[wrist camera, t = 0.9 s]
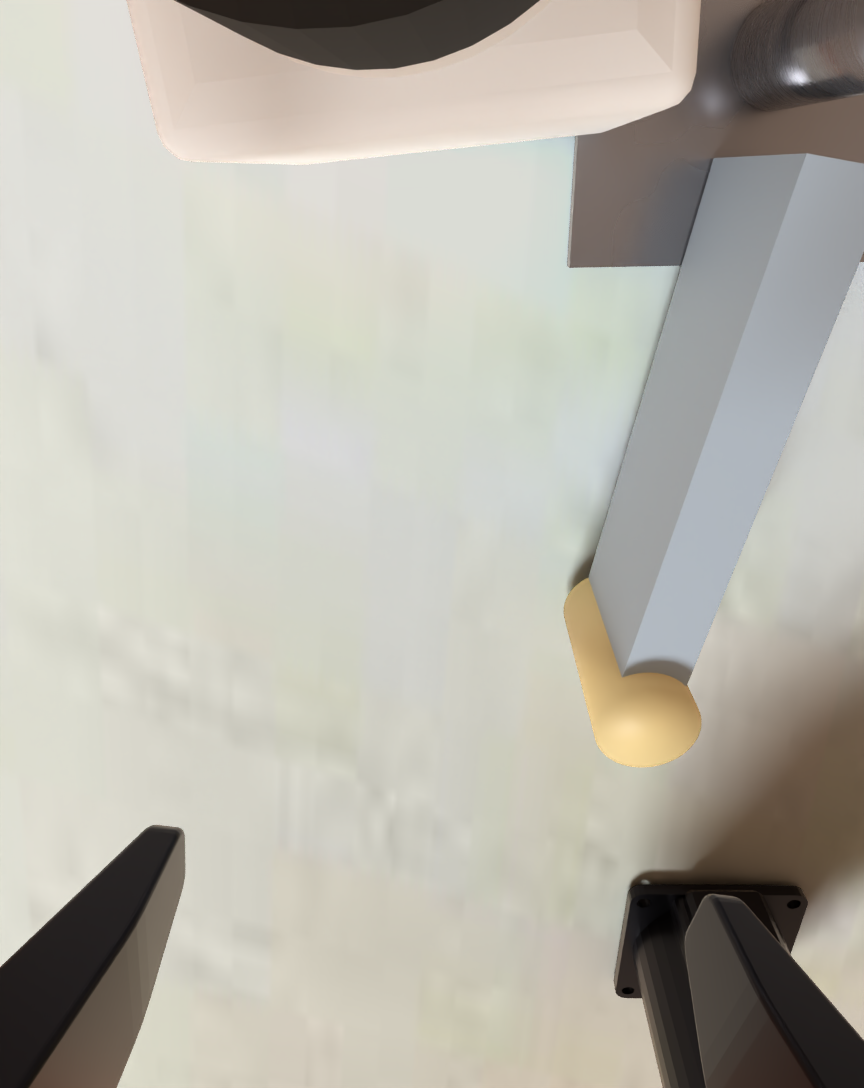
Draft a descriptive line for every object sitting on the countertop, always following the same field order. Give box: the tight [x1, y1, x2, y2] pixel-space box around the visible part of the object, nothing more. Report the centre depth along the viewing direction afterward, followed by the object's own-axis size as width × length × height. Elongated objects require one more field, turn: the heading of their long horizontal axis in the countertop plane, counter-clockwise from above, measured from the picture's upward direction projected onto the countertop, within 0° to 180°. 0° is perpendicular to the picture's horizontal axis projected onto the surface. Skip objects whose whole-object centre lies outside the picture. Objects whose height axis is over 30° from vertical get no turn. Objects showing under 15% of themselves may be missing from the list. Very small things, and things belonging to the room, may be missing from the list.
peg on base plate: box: [567, 0, 864, 268], centre depth 12 cm, size 8×8×6 cm
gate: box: [564, 153, 864, 767], centre depth 16 cm, size 13×2×5 cm, turn 171°
